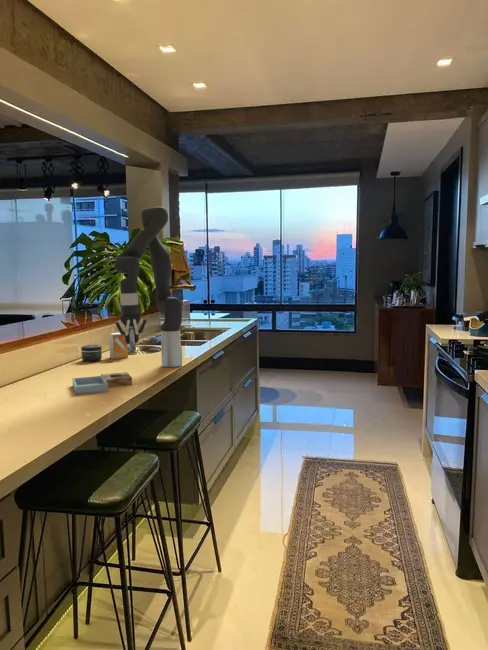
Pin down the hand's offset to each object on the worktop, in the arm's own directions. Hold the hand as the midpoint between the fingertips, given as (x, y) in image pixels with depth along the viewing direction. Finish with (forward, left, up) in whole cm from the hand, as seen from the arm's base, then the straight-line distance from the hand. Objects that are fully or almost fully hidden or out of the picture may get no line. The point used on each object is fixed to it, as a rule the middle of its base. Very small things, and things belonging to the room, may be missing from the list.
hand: (131, 343), depth 217 cm
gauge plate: (+8, +8, -15) cm, 19 cm away
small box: (-2, -49, -15) cm, 52 cm away
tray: (+19, +13, -15) cm, 28 cm away
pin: (0, 0, -3) cm, 3 cm away
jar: (+12, -47, -15) cm, 51 cm away
